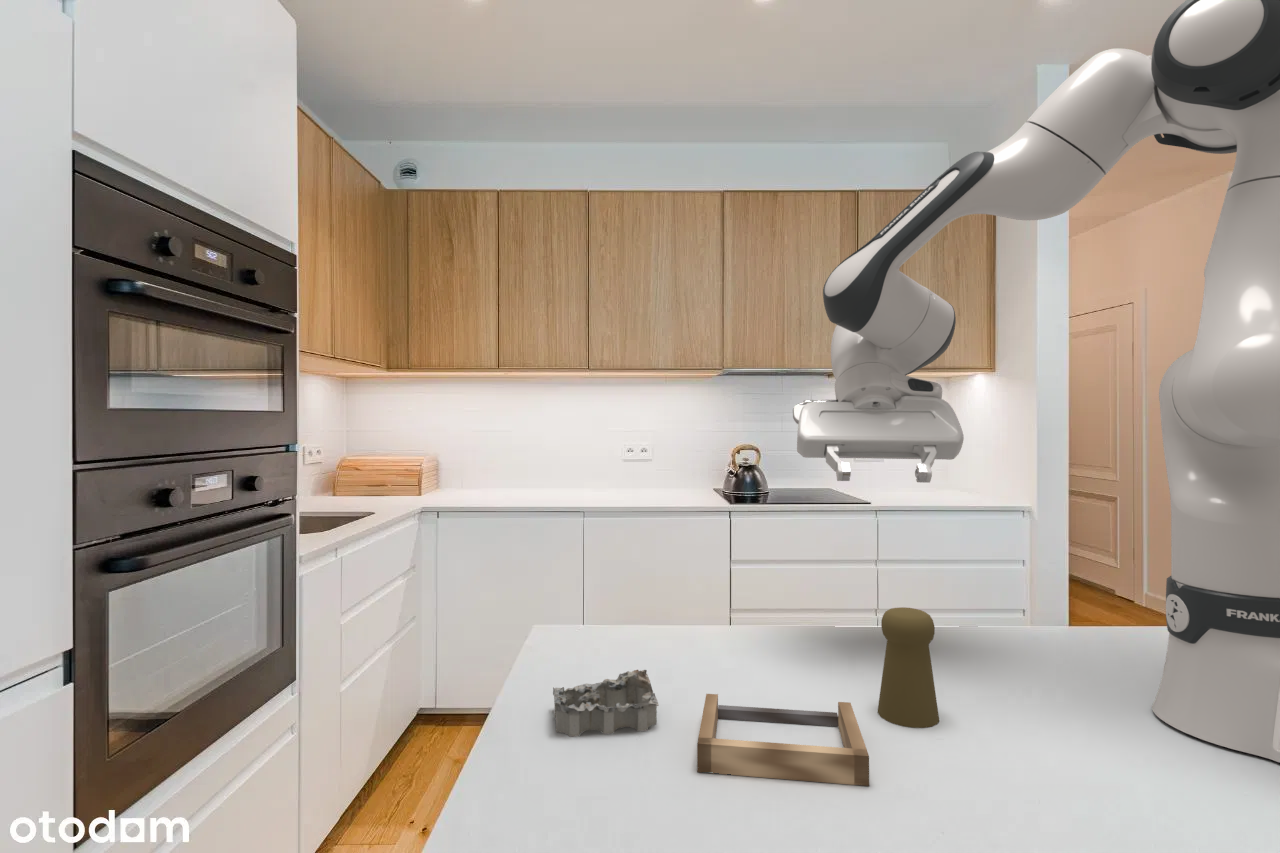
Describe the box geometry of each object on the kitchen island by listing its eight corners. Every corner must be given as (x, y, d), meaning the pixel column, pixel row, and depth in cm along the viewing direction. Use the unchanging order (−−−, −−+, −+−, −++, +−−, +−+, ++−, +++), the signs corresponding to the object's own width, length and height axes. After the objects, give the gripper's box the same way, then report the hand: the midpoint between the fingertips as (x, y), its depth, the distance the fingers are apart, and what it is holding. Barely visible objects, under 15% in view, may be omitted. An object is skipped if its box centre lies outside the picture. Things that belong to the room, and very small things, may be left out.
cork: (945, 730, 67) (945, 619, 67) (881, 725, 68) (881, 616, 68) (932, 705, 73) (932, 603, 73) (873, 701, 74) (873, 601, 74)
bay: (849, 723, 69) (849, 698, 69) (869, 786, 57) (869, 756, 57) (707, 713, 71) (707, 689, 71) (697, 772, 59) (697, 743, 59)
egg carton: (650, 705, 74) (651, 667, 74) (660, 735, 67) (661, 694, 67) (552, 709, 73) (553, 671, 73) (552, 741, 66) (552, 698, 66)
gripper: (793, 383, 92) (798, 460, 82) (953, 383, 89) (978, 462, 79) (790, 417, 96) (795, 493, 87) (943, 417, 93) (965, 496, 84)
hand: (884, 478), depth 83 cm, fingers open, 8 cm apart
